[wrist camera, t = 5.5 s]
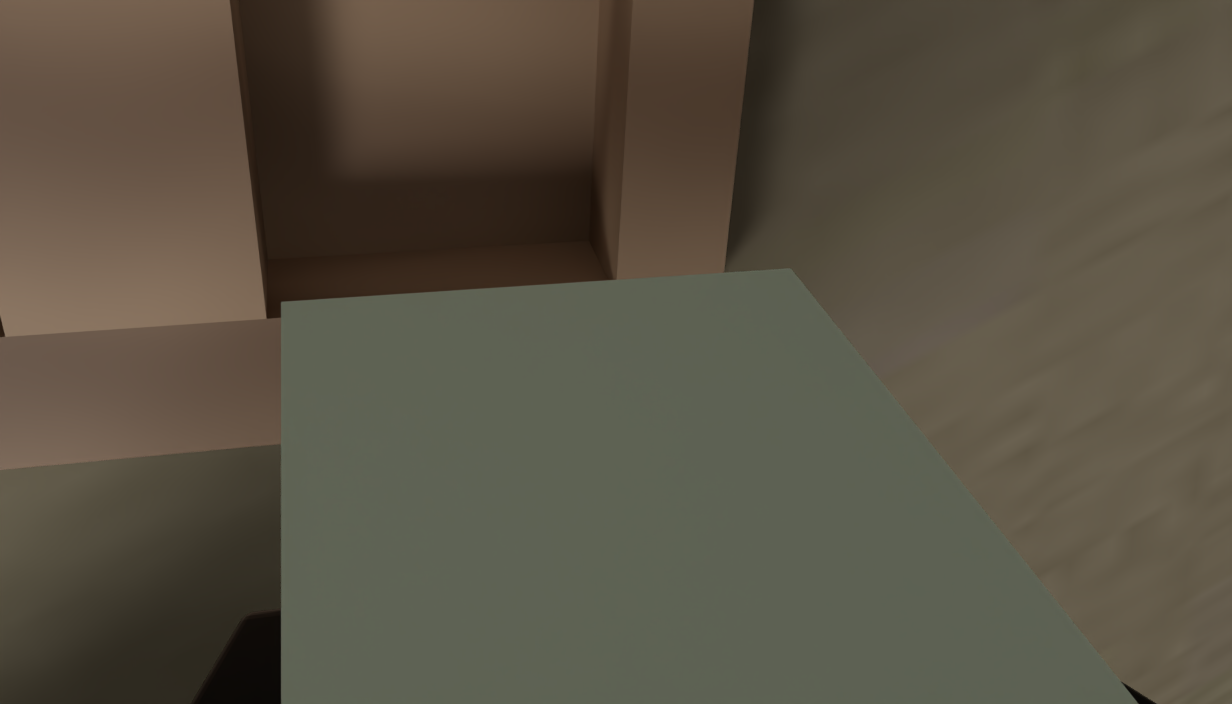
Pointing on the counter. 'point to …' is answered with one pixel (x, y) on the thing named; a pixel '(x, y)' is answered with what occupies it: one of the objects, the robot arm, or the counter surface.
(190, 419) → the socket block
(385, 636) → the plug
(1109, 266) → the counter surface
